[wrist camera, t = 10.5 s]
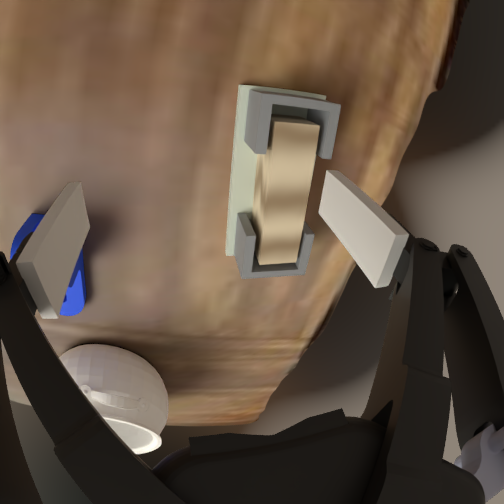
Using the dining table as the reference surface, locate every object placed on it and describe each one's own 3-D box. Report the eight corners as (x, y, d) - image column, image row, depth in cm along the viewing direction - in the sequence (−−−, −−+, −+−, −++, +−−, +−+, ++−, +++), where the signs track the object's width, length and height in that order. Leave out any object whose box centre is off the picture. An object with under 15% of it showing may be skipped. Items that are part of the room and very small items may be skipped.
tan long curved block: (261, 113, 33) (275, 121, 28) (299, 116, 34) (319, 125, 29) (249, 239, 43) (259, 264, 38) (282, 238, 44) (296, 262, 39)
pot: (148, 409, 68) (151, 463, 55) (52, 386, 56) (45, 442, 43) (186, 349, 56) (195, 422, 43) (56, 313, 44) (36, 389, 31)
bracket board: (238, 84, 32) (252, 87, 26) (322, 94, 34) (349, 102, 28) (225, 251, 45) (233, 282, 39) (294, 248, 47) (310, 276, 42)
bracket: (32, 213, 34) (6, 247, 27) (81, 217, 36) (62, 254, 29) (47, 304, 43) (34, 342, 36) (88, 309, 46) (79, 350, 38)
